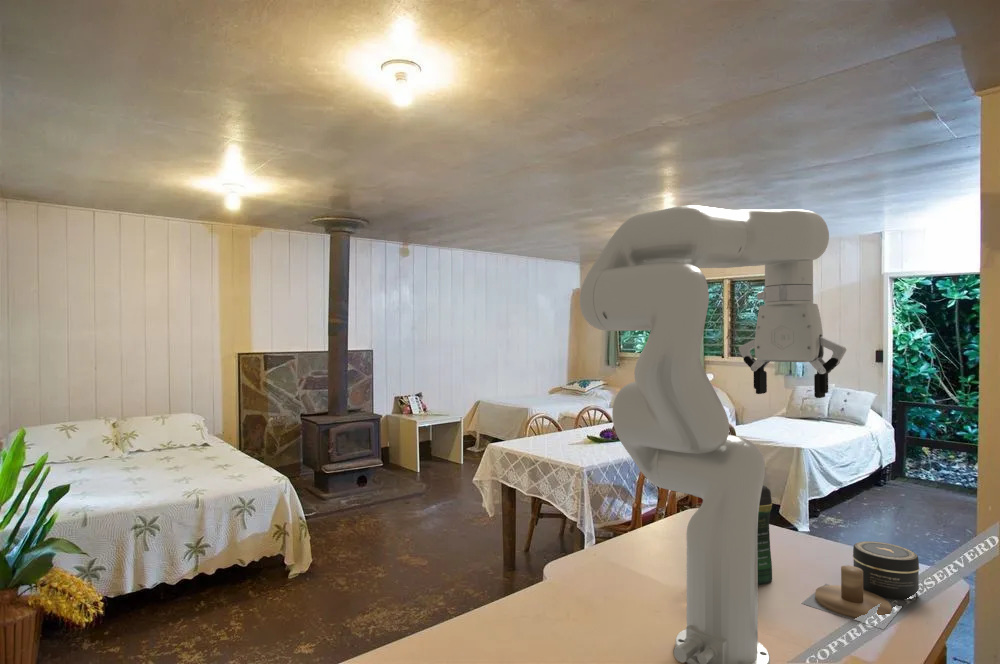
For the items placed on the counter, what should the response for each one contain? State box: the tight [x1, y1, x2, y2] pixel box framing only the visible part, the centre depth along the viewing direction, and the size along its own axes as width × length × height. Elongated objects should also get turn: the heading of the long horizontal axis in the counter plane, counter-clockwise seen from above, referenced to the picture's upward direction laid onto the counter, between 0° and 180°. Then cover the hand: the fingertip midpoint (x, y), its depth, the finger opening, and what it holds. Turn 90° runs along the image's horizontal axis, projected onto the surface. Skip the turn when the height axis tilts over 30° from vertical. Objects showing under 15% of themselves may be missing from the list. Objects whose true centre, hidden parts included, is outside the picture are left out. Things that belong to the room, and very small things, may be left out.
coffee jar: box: [757, 485, 773, 586], centre depth 109 cm, size 10×8×19 cm
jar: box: [852, 540, 920, 601], centre depth 103 cm, size 10×10×8 cm
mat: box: [801, 583, 897, 631], centre depth 96 cm, size 12×12×1 cm
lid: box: [814, 565, 892, 618], centre depth 97 cm, size 11×11×6 cm
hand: (789, 395), depth 98 cm, fingers open, 9 cm apart
